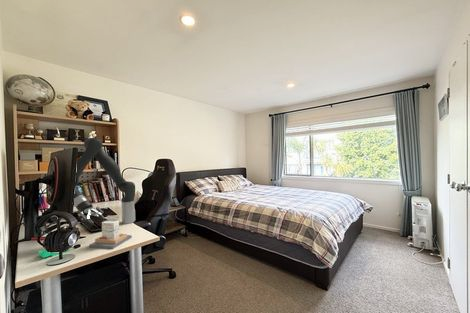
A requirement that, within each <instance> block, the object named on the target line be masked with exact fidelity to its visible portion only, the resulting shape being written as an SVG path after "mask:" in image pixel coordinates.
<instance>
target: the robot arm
mask: <svg viewBox="0 0 470 313" xmlns="http://www.w3.org/2000/svg"><path fill="white" fill-rule="evenodd" d="M83 146H84V148H85V151H84V152H83V153H82V155H81V156H80V157H79V158H77V160H76V161H77V173H76V182H75V194H74V205H73V207H75V209H77V211H78V213H77V217H78V218H79V220H81V222H87V224H88V225H90V226H94V223H95V222H94V221H93V220H92V219H91V217H93V216H94V217H98V218H99V220H100V221H101V222H104V221H105V219H106V218H105V216H104V215H103V214H104V211H103V210H102V209H101V208H100V207H99V206H96V207H93V204H92V203H91V202H90V200H89V199H88V198H87V197H86V195H84V194H83V193H82V192H81V191H80V190H79V189H77V188H76V187H77V185H78V183H79V180H80V177H81V176H82V174H83V172H84V171H85V169H86V168H87V166H88V165H89V163H90V162H91V161H92V160H93V158H95V160H96V161H97V162H98V164H99V165H100V166H101V168H103V170H104V171H105V173H106V174H107V176H109V178H110V179H111V180H112V181H113V182H114V183H115V184H114V185H115V186H116V187H117V188H118V190H119V192H120V193H123V194H124V196H123V197H122V198H121V223H122V224H124V225H127V224H129V225H130V224H132V223H134V222H135V221H136V209H135V199H136V198H135V197H136V184H135V183H134V182H133V181H127V180H126V179H125V178H124V177H123V176H122V173H121V169H120V166H119V165H118V164H117V162H116V161H115V160H114V158H112V157H111V156H110V155H108V154H107V152H105V151H104V149H103V148H102V147H103V141H102V140H101V139H100V138H96V137H88V138H86V139H85V140H84V141H83Z"/></svg>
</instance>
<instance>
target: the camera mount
mask: <svg viewBox="0 0 470 313" xmlns="http://www.w3.org/2000/svg"><path fill="white" fill-rule="evenodd" d="M57 255H60V254H59V253H49V252H47V251H46V250H45V249H42V250H39V251H38V256H39V257H41V258H48V257H50V256H51V257H55V256H57Z"/></svg>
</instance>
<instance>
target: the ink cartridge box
mask: <svg viewBox="0 0 470 313" xmlns="http://www.w3.org/2000/svg"><path fill="white" fill-rule="evenodd" d="M106 218H107V220H104V221H101V236H102V239H111V240H116V239H117V238H119V234H120V220H119V216H118V215H107V216H106Z"/></svg>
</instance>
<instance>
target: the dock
mask: <svg viewBox="0 0 470 313" xmlns="http://www.w3.org/2000/svg"><path fill="white" fill-rule="evenodd" d="M132 237H133V236H132V234H131V235H130V234H127V233H119V238H117V239H116V240H111V239H102V235H101V236H99V237H97V238H95V239H94V242H92V243H90V244H89V248H96V249H97V248H98V249H115V248H117V247H118V246H120V245H122V244H124V243H125V242H126V241H127V242H128V241H129V240H130V239H132Z"/></svg>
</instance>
